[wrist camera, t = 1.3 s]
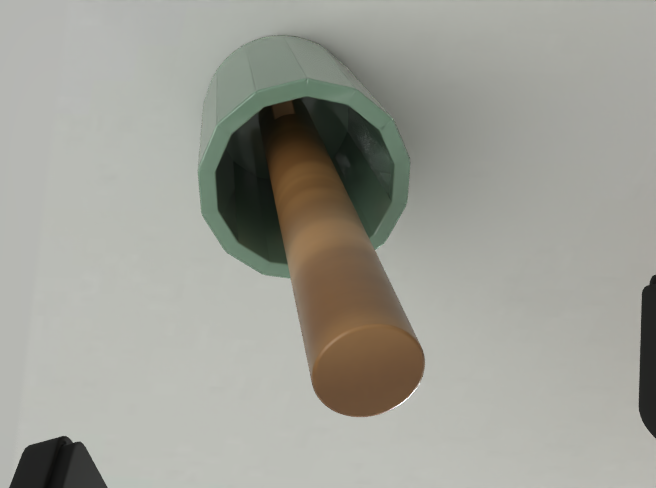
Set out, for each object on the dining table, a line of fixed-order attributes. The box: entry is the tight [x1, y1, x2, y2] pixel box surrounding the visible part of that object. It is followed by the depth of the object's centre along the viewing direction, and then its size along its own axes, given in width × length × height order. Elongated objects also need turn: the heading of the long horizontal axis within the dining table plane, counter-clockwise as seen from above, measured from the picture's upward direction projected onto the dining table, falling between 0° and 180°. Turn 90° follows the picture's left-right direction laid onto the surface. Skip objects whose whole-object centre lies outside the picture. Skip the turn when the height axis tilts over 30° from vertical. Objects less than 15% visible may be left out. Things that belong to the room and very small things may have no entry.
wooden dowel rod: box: [259, 99, 425, 417], centre depth 18 cm, size 3×2×16 cm, turn 11°
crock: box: [198, 35, 410, 278], centre depth 22 cm, size 6×6×8 cm
